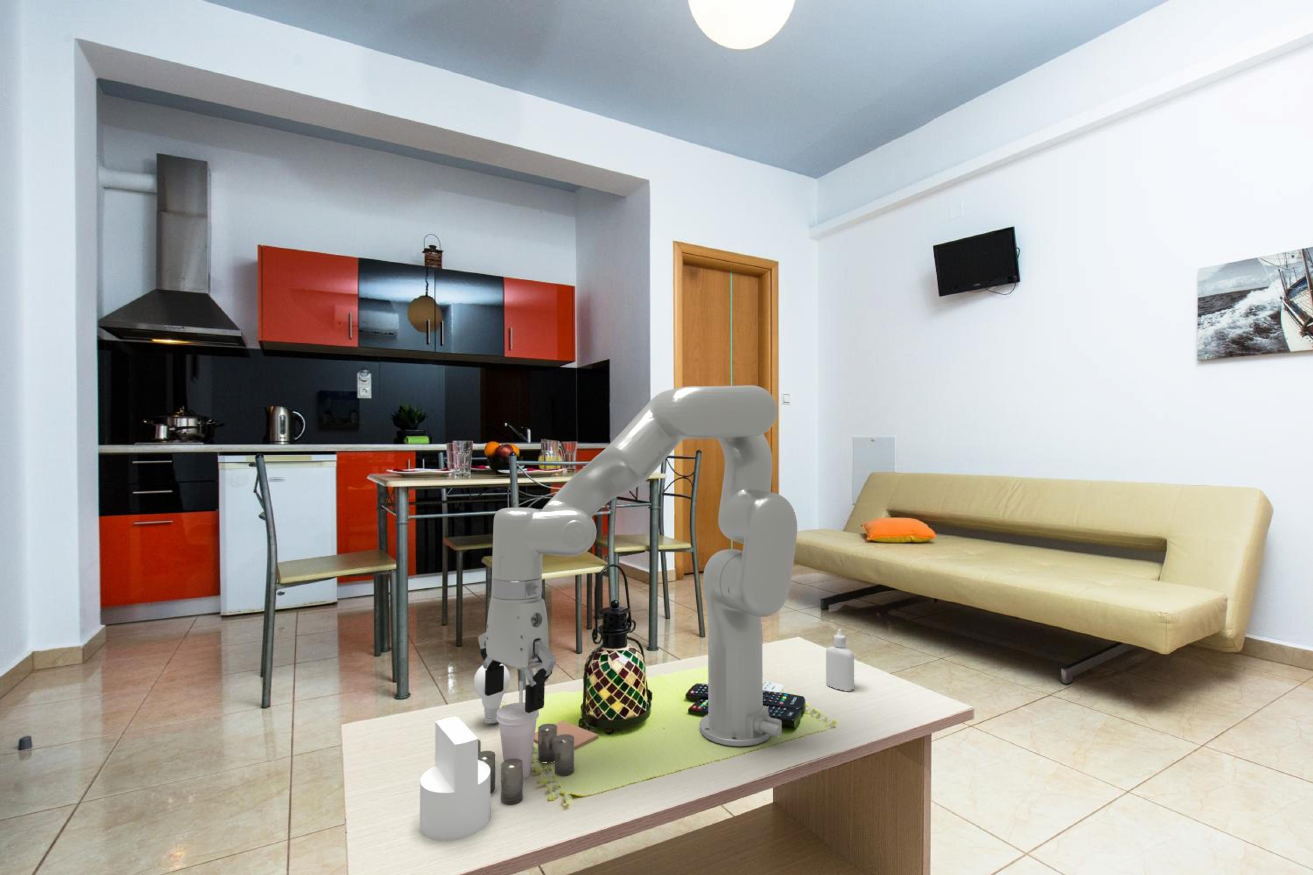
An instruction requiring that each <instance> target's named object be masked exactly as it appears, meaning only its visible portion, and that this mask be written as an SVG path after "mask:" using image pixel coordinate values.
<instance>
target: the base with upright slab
mask: <svg viewBox="0 0 1313 875" xmlns="http://www.w3.org/2000/svg"><path fill="white" fill-rule="evenodd" d="M434 731H435V734H434V735H435V737H434V738H435V741H434V742H435V744H434V745H435V748H434V749H435V750H434V751H435V752H434V753H435V754H434V755H435V757H434V760H435V763H434V764H435V765H434V766H432V767H430V768H428V769H427V770H425V771H424V772H423V774H422V775H421V777H420V781H419V790H420V791H419V828H420V829H419V830H420V832H421V833H422V834H423V836H425V837H427V838H428V839H431V840H436V841H456V840H460V839H463V838H467V837H469V836H471V835H474V834H476V833H478V832H479V831H480V830H482V829H483V828H484V827H485V826H486V825H487V824H488V823H489V821H490V818H491V794H490V767H489V765H488V764H486V763H485V762H483V761H480V760H478V740H479V737H477V736H476V735H475V734H474V732H473V731H472V730H470V728H469V727H468V726H467V725H466V724H465V723H464V722H463V721H462V720H461V719H460V718H459V717H458V716H450V717H445V718H442V719H439V720H436V721H435V729H434Z"/></svg>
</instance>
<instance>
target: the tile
mask: <svg viewBox="0 0 1313 875" xmlns="http://www.w3.org/2000/svg"><path fill="white" fill-rule="evenodd" d="M555 725H557V736H559V735H563V734H569V735H572V736H574V751H575V750H576V749H579V748H581V747H583V746H584V745H585V746H586V745H587V744H588V743H590V742H592V741H595V740H596V739H598V738H599V734H597V733H595V732H593V731H589V730H587V729H585V728H582V727H579V726H577V725H575V724H572V723H569V722H567V721H564V720H561V721H559V722H557V723H555ZM534 744H537V745H538V731H537V732H536V731H535V736H534Z"/></svg>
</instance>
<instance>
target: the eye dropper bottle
mask: <svg viewBox="0 0 1313 875" xmlns="http://www.w3.org/2000/svg"><path fill="white" fill-rule="evenodd" d="M846 637H847V636H846V635H844V634H843V630H842V629H841V628H838V629H837V633H836V634H834V635H833V645H831V646H829V647H827V649H826V650H825V653H826V654H825V672H826V673H825V675H826V676H825V677H826V678H825V684H826V685H827V686H828V687H829V686H830V687H829V688H831V687H833V688H835V689H834V690H836V689H840V690H846V691H849V692H851V691H853V690H854V689H855V656H854V652H853V650H850V649H849V648H848V647H847V638H846ZM833 688H832V689H833ZM852 689H853V690H852ZM840 690H839V691H840ZM846 691H845V692H846Z"/></svg>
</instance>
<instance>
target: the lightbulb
mask: <svg viewBox="0 0 1313 875" xmlns="http://www.w3.org/2000/svg"><path fill="white" fill-rule="evenodd" d="M501 665H503V666H504V689H503V691H502V692H499V693H496V694H493V695H490V696H486V695H485V670H487V669H484V667H483V664H482V665H481V666H480V667H479V668H478V669H477V671H475V674H474V679H473V686H474V690H475V691H476V693H477V695H478V696H479V697H480V699H481V703H482V706H483V708H484V711H483V713H484V714H483V715H484V722H485V723H486V724H488V725H494V724H496V723H499V722H498V721H497V719H496V718H497V711H498V710H499V709H500V708H501V705H502V701H503V697H504V695H505V693H506V691H507V690H508V688H509V686H510V684H511V683H510V681H511V674H510V671H509V670H508V668H507V666H505V664H503V663H502V664H501ZM501 665H500V666H501Z"/></svg>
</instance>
